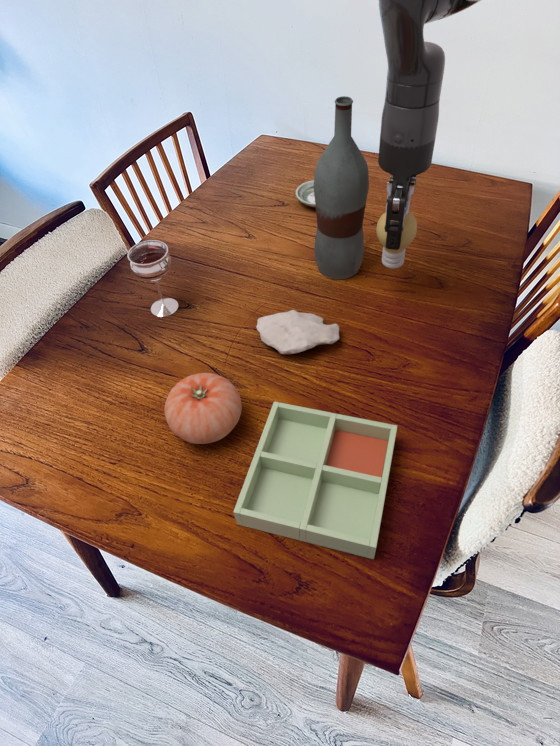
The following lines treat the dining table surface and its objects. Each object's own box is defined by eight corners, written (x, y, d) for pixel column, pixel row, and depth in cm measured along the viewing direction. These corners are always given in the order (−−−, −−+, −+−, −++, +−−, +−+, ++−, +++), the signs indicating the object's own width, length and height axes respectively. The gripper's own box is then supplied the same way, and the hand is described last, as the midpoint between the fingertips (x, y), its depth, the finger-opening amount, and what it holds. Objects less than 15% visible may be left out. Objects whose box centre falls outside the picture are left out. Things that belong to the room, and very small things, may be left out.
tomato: (203, 384, 81) (194, 349, 75) (259, 414, 77) (254, 380, 71) (155, 432, 76) (141, 399, 70) (212, 468, 71) (202, 436, 65)
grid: (394, 440, 73) (397, 425, 70) (373, 559, 62) (376, 547, 59) (275, 415, 76) (273, 401, 74) (236, 524, 66) (233, 511, 63)
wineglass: (189, 310, 93) (175, 255, 83) (154, 325, 90) (135, 270, 81) (174, 289, 96) (158, 234, 87) (140, 304, 94) (120, 249, 85)
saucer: (290, 211, 111) (290, 200, 109) (302, 187, 117) (302, 177, 115) (334, 216, 109) (334, 205, 107) (344, 192, 115) (344, 181, 113)
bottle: (307, 257, 100) (303, 93, 78) (351, 246, 102) (359, 82, 79) (324, 286, 95) (326, 118, 72) (371, 274, 96) (386, 106, 73)
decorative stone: (349, 328, 88) (269, 314, 93) (349, 309, 85) (267, 296, 91) (327, 367, 80) (241, 349, 86) (326, 347, 78) (238, 330, 83)
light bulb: (380, 249, 91) (385, 197, 84) (416, 257, 89) (424, 205, 82) (368, 270, 88) (372, 218, 80) (405, 279, 85) (412, 227, 78)
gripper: (430, 159, 66) (413, 265, 79) (440, 111, 75) (424, 213, 88) (372, 155, 68) (364, 259, 81) (388, 108, 77) (379, 209, 89)
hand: (395, 235), depth 84 cm, fingers closed on light bulb, 6 cm apart
